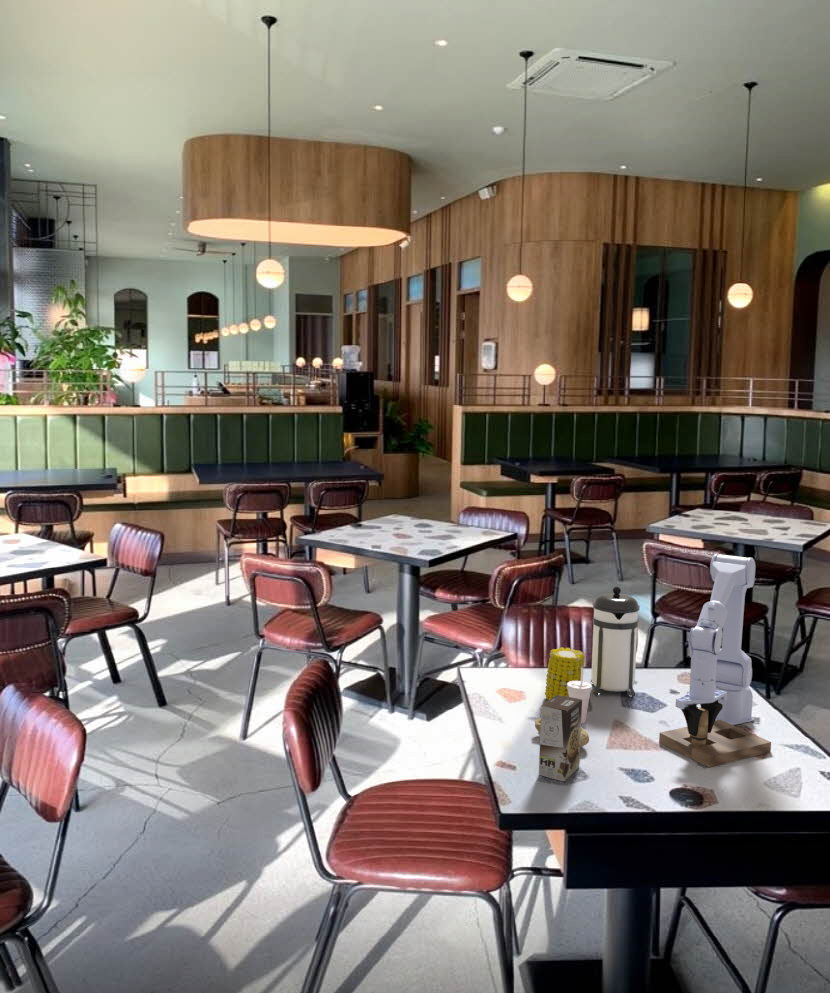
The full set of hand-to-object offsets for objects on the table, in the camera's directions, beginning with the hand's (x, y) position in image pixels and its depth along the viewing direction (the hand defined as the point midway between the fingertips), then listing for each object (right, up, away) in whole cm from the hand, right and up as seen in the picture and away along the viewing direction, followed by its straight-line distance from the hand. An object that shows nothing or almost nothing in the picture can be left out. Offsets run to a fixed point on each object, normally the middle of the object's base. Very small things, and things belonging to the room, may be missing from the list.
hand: (699, 733), depth 215 cm
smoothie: (-25, -2, +19) cm, 32 cm away
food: (-27, 0, +34) cm, 43 cm away
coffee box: (-35, -6, -12) cm, 38 cm away
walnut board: (+4, -4, +3) cm, 7 cm away
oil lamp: (-32, -4, +4) cm, 33 cm away
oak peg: (0, -4, +1) cm, 4 cm away
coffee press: (-12, +1, +44) cm, 45 cm away
